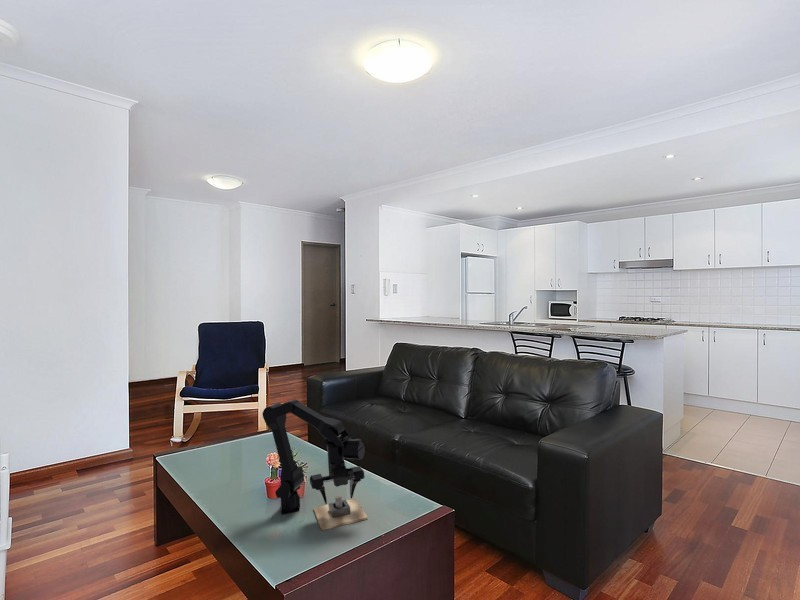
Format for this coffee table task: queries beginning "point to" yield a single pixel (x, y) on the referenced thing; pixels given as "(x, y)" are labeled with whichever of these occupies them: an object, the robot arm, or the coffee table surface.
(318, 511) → the wooden peg base
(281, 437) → the robot arm
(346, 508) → the collar
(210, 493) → the coffee table surface
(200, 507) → the coffee table surface
